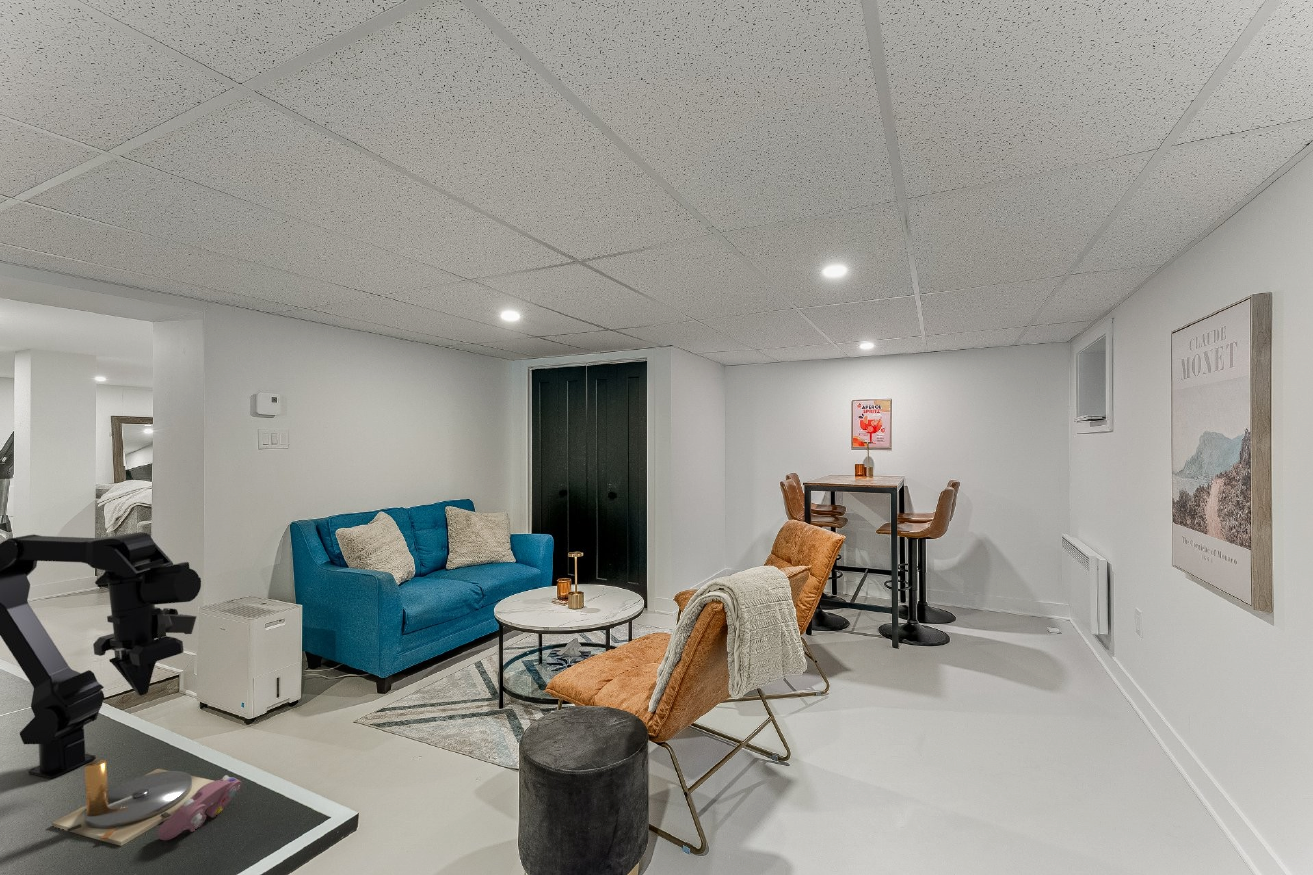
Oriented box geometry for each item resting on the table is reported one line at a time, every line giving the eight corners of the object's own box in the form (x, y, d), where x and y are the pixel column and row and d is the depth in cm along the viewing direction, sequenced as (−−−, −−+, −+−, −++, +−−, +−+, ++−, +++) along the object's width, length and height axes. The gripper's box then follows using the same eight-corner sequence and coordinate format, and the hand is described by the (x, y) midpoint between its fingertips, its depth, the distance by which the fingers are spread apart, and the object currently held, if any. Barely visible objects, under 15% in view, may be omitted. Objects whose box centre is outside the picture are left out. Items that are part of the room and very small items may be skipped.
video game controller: (175, 856, 86) (192, 815, 85) (151, 838, 86) (167, 798, 86) (236, 812, 95) (252, 775, 95) (214, 796, 96) (229, 759, 95)
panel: (46, 829, 89) (45, 824, 89) (158, 772, 104) (158, 767, 104) (119, 850, 85) (118, 844, 85) (225, 786, 99) (225, 782, 99)
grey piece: (63, 819, 90) (60, 765, 90) (156, 771, 103) (154, 724, 102) (122, 835, 87) (119, 779, 86) (211, 783, 99) (209, 734, 99)
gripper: (212, 596, 108) (222, 682, 108) (162, 590, 117) (171, 669, 117) (135, 616, 98) (146, 710, 98) (87, 608, 107) (97, 694, 107)
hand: (142, 694), depth 106 cm, fingers closed
